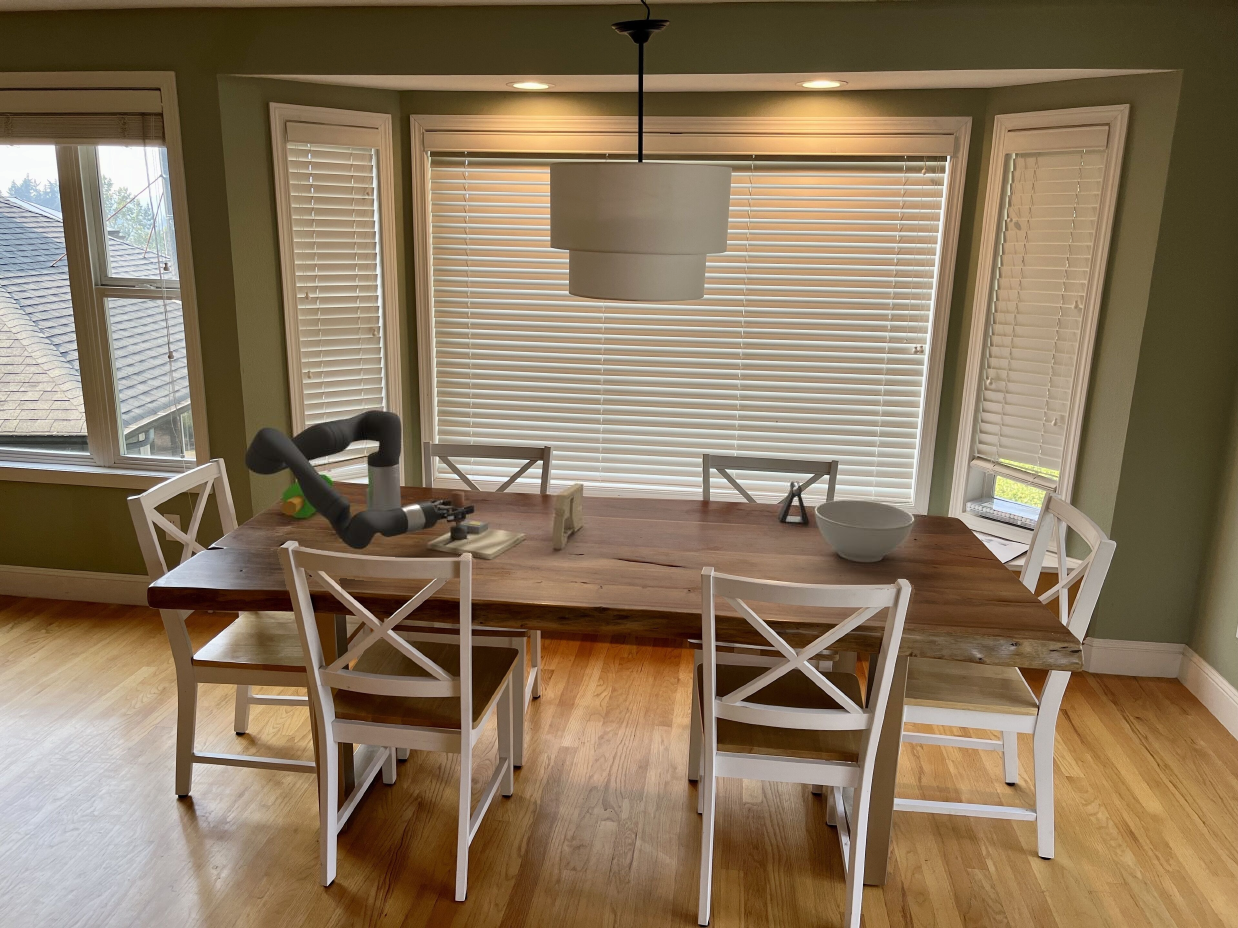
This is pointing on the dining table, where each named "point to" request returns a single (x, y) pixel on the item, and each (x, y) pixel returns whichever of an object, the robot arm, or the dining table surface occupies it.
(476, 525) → the block
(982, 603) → the dining table surface
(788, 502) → the phone stand
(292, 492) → the decorative tree
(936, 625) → the dining table surface
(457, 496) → the wooden handled stamp
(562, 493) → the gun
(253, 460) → the robot arm
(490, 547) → the subfloor panel
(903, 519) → the decorative bowl
